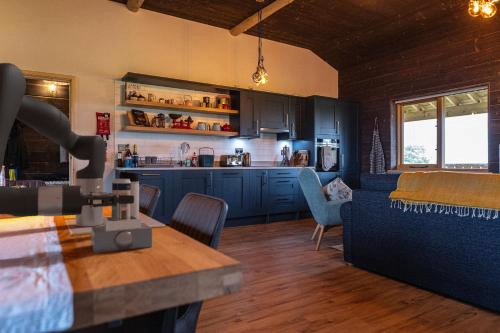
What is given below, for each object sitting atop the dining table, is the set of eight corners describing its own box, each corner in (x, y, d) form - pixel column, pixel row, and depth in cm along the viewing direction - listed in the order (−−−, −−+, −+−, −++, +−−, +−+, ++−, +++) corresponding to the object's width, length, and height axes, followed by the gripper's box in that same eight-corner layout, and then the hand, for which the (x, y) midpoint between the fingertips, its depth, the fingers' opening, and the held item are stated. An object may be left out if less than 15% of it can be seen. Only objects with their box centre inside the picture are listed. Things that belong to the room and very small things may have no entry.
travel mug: (113, 233, 108) (114, 171, 108) (126, 229, 114) (127, 171, 114) (130, 234, 106) (130, 171, 106) (142, 230, 112) (142, 171, 112)
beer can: (133, 222, 92) (134, 178, 92) (125, 225, 87) (126, 179, 88) (116, 221, 93) (117, 178, 93) (107, 224, 88) (108, 179, 88)
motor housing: (91, 245, 91) (91, 217, 91) (143, 239, 98) (144, 214, 98) (94, 254, 81) (94, 223, 81) (152, 247, 88) (152, 219, 88)
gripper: (60, 187, 77) (137, 186, 85) (60, 184, 89) (127, 183, 98) (60, 219, 77) (136, 215, 85) (60, 212, 89) (127, 209, 98)
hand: (131, 198), depth 91 cm, fingers closed on beer can, 4 cm apart
